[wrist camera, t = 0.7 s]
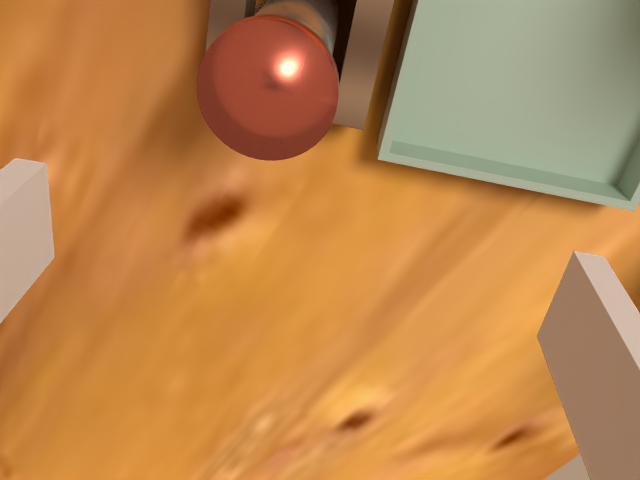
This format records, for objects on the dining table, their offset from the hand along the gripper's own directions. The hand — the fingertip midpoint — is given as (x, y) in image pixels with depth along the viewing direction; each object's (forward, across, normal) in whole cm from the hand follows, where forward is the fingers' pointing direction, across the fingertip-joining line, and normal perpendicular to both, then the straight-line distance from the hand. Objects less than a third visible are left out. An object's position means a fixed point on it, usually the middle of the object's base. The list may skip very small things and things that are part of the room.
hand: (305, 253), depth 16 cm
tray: (+27, +12, 0) cm, 29 cm away
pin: (+27, -2, 0) cm, 27 cm away
